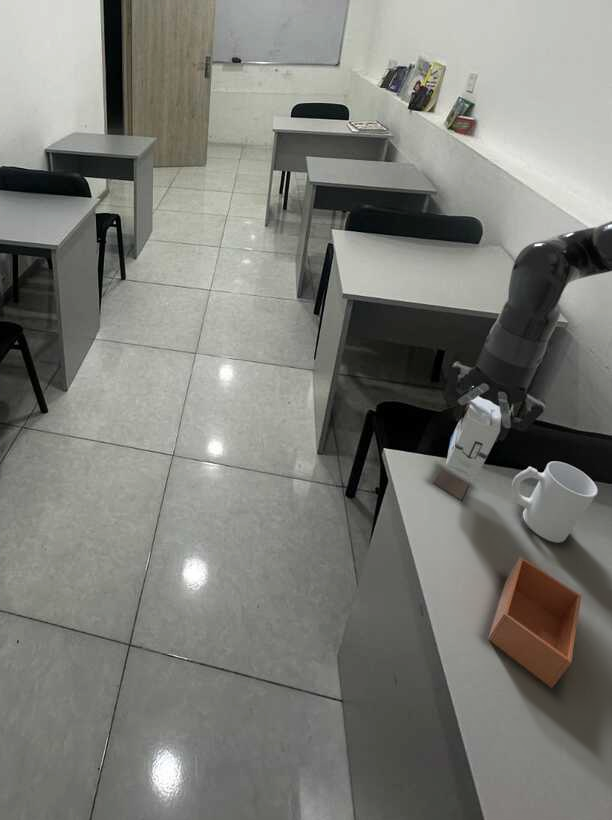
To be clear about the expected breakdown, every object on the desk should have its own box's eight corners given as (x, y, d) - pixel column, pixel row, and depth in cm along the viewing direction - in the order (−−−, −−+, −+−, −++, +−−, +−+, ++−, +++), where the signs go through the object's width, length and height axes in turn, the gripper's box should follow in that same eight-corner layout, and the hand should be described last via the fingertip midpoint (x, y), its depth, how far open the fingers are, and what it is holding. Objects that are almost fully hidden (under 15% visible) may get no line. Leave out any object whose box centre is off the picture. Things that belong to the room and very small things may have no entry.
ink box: (450, 437, 92) (471, 390, 88) (479, 451, 90) (502, 403, 85) (444, 466, 86) (466, 417, 81) (476, 482, 83) (501, 432, 78)
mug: (563, 521, 86) (592, 473, 81) (570, 553, 80) (602, 504, 75) (497, 493, 90) (522, 446, 85) (500, 521, 85) (526, 473, 80)
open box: (562, 622, 70) (581, 595, 68) (550, 689, 63) (571, 662, 60) (504, 582, 75) (520, 556, 72) (486, 640, 67) (503, 613, 65)
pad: (468, 486, 91) (469, 484, 91) (460, 502, 87) (461, 500, 87) (440, 469, 94) (440, 467, 94) (431, 484, 91) (432, 482, 90)
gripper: (569, 363, 76) (528, 442, 83) (469, 322, 85) (439, 396, 92) (563, 384, 71) (519, 466, 78) (457, 338, 80) (427, 415, 87)
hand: (476, 428), depth 85 cm, fingers closed on ink box, 5 cm apart
